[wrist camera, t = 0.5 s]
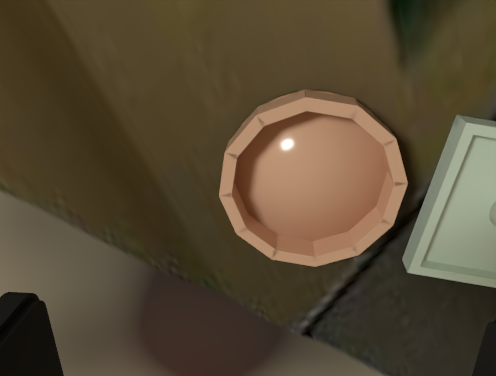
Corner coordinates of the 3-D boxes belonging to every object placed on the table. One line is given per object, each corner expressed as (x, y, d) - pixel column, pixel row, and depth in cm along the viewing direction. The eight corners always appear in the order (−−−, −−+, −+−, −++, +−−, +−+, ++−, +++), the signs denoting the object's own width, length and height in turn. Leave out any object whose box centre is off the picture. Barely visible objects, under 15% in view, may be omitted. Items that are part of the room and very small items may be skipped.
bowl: (238, 75, 41) (233, 84, 37) (417, 106, 41) (430, 118, 37) (217, 229, 48) (211, 249, 45) (368, 254, 48) (375, 276, 45)
